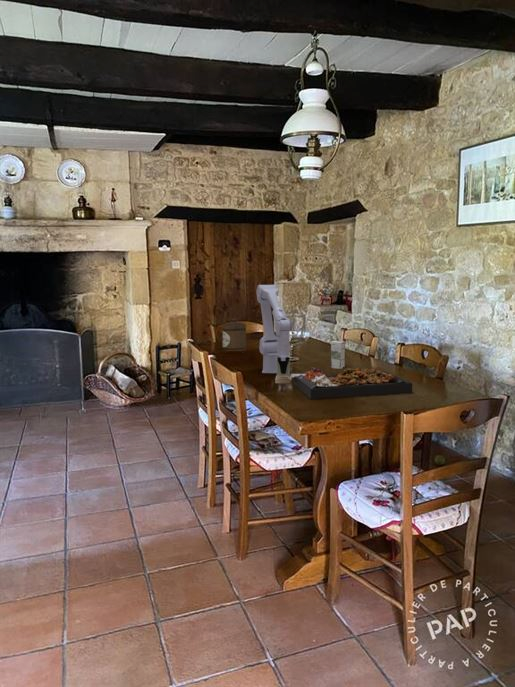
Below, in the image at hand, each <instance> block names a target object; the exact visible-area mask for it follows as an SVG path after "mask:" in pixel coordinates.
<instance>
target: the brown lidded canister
mask: <svg viewBox="0 0 515 687" xmlns="http://www.w3.org/2000/svg"><path fill="white" fill-rule="evenodd" d="M230 320H231V321H230V323H223V324H222V326H221V328H222V329H221V330H222V342H221V343H222V350H223V349H224V350H227V351H243V350H246V351H247V330H246V328H247V326H246V323H239V322H238V321H237V318H235V317H233V318H231V319H230Z"/></svg>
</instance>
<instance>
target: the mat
mask: <svg viewBox="0 0 515 687" xmlns="http://www.w3.org/2000/svg"><path fill="white" fill-rule="evenodd" d="M290 375H291V379H292V378H293V379H294V377H295V376H300V375H305V373H290Z"/></svg>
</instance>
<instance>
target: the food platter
mask: <svg viewBox="0 0 515 687" xmlns="http://www.w3.org/2000/svg"><path fill="white" fill-rule="evenodd" d="M308 365H309V366H310V370H307V371H305V372H304V374H305V375H300V376H295V377H294V378H293V382H294V383H293V385H294V386H295V387H296V388H297V389H298V390H300V391H301V392H302V393H303V394H304V395H305V396H306V397H307V398H308V399H310V400H323V399H322V398H327V399H337V398H336V397H343V398H350V397H349V396H360V397H372V396H371V395H376V396H386V395H385V394H392V395H401V394H400V393H408V394H413V385H414V384H413V383H412V382H410V381H408V380H406V379H403V378H401V377H399V376H397V375H396V374H395V375H394V374H392V373H390V372H389V371H383V370H378V369H377V370H376V369H375V368H372V369H370V368H369V367H367V368H362V369H361V367H357V368H355V369H354V368H349V367H346V368H345V369H344V370H343V371H342V372H341V373H338V374H337V373H334V374H333V373H332V374H326V373H323V372H324V371H323V370H321V368H315V367H312V366H311V365H310V363H308Z"/></svg>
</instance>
